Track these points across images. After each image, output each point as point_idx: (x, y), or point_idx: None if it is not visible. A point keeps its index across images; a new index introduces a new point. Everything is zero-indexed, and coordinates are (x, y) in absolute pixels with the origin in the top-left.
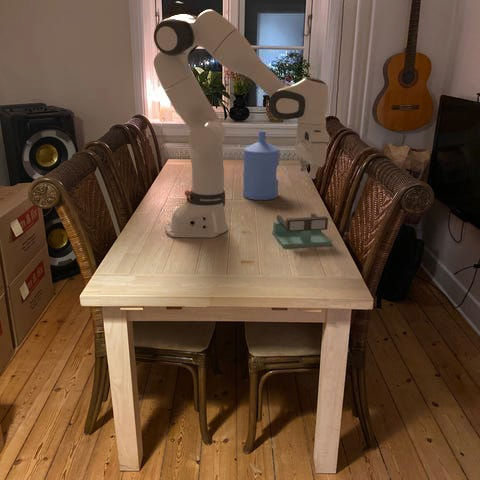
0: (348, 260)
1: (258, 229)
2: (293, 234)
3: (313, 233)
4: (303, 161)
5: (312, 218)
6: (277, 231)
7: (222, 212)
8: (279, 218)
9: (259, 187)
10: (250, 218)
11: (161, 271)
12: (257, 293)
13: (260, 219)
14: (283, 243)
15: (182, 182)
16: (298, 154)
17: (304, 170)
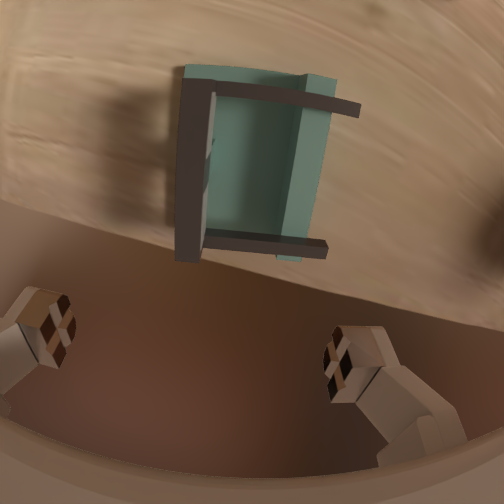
0: (72, 220)
1: (385, 63)
2: (272, 136)
3: (260, 207)
4: (399, 426)
5: (183, 199)
6: (300, 84)
7: None
8: (318, 94)
9: None
10: (473, 100)
11: None
12: None
13: (458, 122)
14: (195, 68)
15: None
16: (463, 479)
17: (328, 356)
